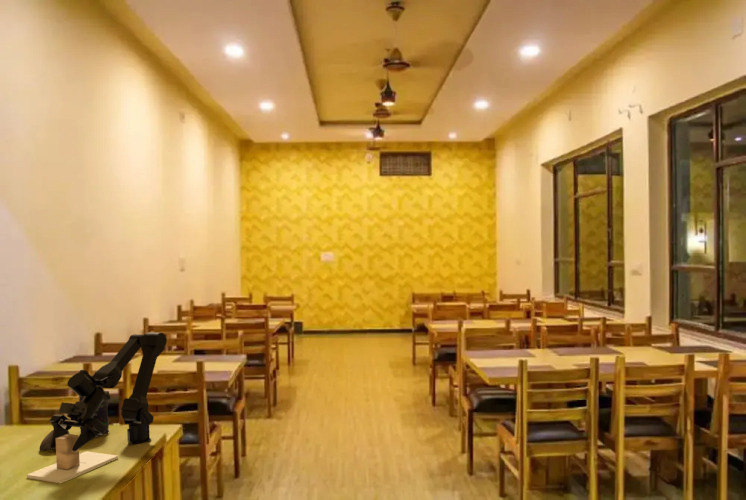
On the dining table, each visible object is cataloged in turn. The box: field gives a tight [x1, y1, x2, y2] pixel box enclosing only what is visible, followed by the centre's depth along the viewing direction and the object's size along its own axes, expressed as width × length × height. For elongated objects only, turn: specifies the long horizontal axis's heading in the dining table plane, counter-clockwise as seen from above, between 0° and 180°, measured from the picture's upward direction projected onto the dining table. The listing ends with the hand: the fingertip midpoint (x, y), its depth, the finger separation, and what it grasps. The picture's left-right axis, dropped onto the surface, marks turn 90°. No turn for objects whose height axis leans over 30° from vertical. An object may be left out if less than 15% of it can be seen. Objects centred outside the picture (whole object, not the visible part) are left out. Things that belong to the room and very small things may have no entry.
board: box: [26, 451, 119, 484], centre depth 193 cm, size 22×14×1 cm, turn 157°
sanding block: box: [55, 433, 80, 470], centre depth 191 cm, size 4×4×10 cm
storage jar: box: [78, 395, 110, 438], centre depth 230 cm, size 10×10×15 cm
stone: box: [39, 429, 71, 452], centre depth 214 cm, size 10×8×10 cm
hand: (62, 449), depth 189 cm, fingers open, 9 cm apart
